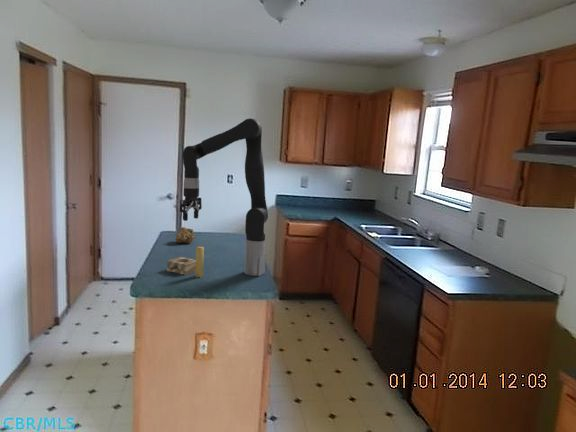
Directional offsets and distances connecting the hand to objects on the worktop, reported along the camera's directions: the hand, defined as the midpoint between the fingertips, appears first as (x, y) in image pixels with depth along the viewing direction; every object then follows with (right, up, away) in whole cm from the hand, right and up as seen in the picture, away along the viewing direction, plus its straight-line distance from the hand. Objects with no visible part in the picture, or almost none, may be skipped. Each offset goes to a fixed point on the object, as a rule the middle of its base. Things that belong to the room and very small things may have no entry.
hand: (190, 219), depth 222 cm
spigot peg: (+6, -27, -11) cm, 30 cm away
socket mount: (-4, -25, -5) cm, 26 cm away
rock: (-15, -15, +51) cm, 55 cm away
